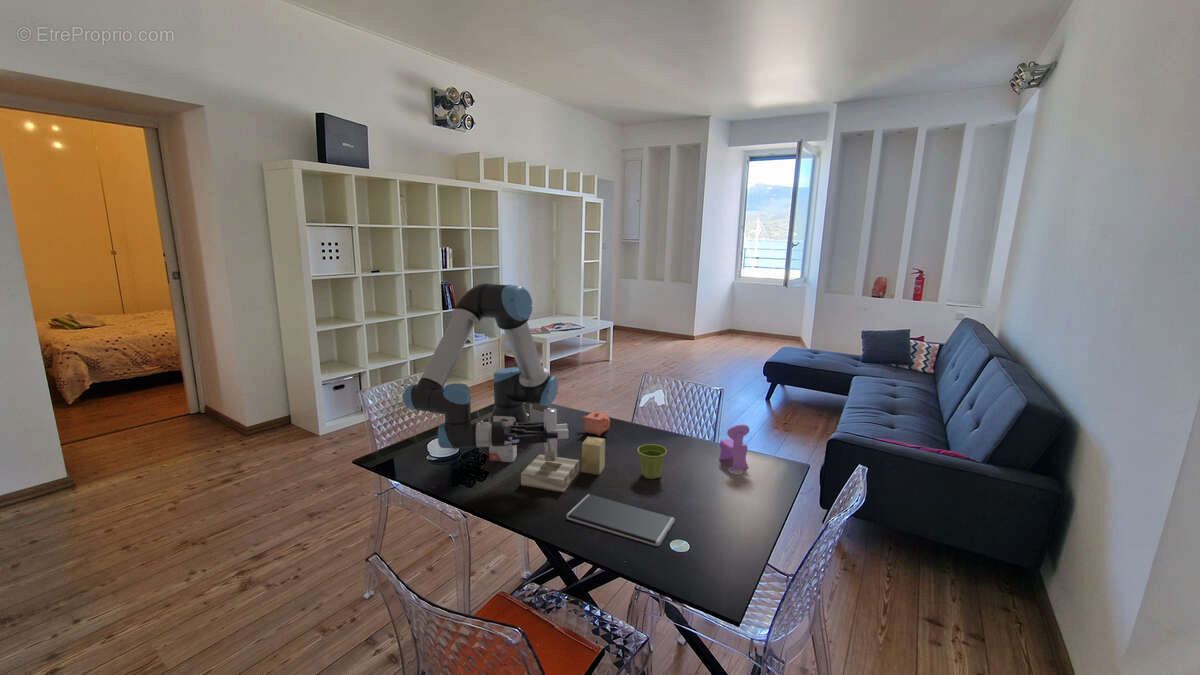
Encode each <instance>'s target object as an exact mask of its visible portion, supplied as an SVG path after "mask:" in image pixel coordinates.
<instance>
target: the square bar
mask: <svg viewBox="0 0 1200 675" xmlns="http://www.w3.org/2000/svg"><path fill="white" fill-rule="evenodd" d="M605 464H606V439H605V438H601V437H596V436H595V437H594V436H587V437H586V438H585V439H584V441H583V442H582V443H581V473H583V474H584V473H585V474H590V475H591V474H592V475H597V476H600V475H601V473H602V472H603V470H604V469H605Z"/></svg>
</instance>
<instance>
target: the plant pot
mask: <svg viewBox="0 0 1200 675" xmlns="http://www.w3.org/2000/svg"><path fill="white" fill-rule="evenodd" d="M667 452H668V450H667V448H665V447H664V446H662V445H661V444H659V445H658V444H651V443H648V444H647V443H646V444H643V445H640V446H638V448H637V453H638V455H639V459H640V467H641V468H640V469H641V475H642V476H643V477H644V478H645V479H649V480H654V479H659V478H661V476H662V471H663V466H664V460H665V457H666V455H667Z"/></svg>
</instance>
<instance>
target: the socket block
mask: <svg viewBox="0 0 1200 675" xmlns="http://www.w3.org/2000/svg"><path fill="white" fill-rule="evenodd" d="M579 472H580V460H579V459H572V458H567V457H566V458H565V457H558V456H557V460H555V461H545V460H544V454H538V455H537V456H536V457H535V459H534V460H532V461H531V462H530V464H528V466H526V468H524V470H523V471H522V472H520V486H525V487H530V488H537V489H543V490H548V491H555V492H558V493H559V492H561V493H565V491H566V489H567V488H569V485H570V484H571V483H572V482H573V480H574V479H575V478H576V476H578V474H579Z"/></svg>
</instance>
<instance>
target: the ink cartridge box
mask: <svg viewBox="0 0 1200 675" xmlns="http://www.w3.org/2000/svg"><path fill="white" fill-rule="evenodd" d="M501 419H505V420H508V421H503V422H504V423H505V426H511V425H513V422H516V418H515V417H505V416H493V422H498V421H500V420H501ZM517 446H518V445H512V441H505V444H504V446H495V447H493V446H492V445H491V446H490V447H488V451H489V454H488V455H489V456H488V457H489V461H491V462H504V463H514V461H515V460H516V458H517V457H518V455H517V454H518V453H517V452H518V450H517Z"/></svg>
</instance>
